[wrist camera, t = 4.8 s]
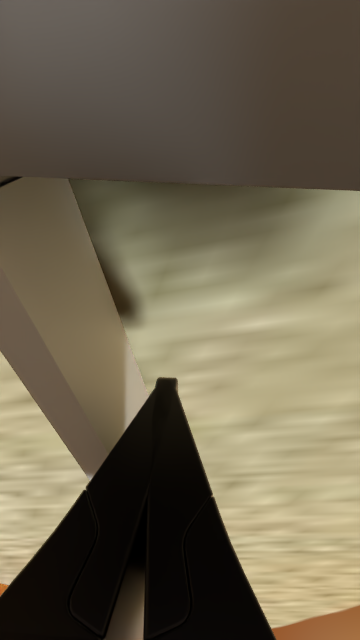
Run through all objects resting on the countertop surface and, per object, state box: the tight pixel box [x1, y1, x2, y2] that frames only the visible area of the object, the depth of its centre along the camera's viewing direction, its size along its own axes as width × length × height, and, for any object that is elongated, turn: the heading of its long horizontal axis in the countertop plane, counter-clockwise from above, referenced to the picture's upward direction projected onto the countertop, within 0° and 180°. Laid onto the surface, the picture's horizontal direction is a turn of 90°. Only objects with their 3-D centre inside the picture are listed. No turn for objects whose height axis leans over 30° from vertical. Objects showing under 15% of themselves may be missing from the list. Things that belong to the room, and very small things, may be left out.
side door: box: [0, 176, 149, 480], centre depth 7 cm, size 2×9×4 cm, turn 11°
